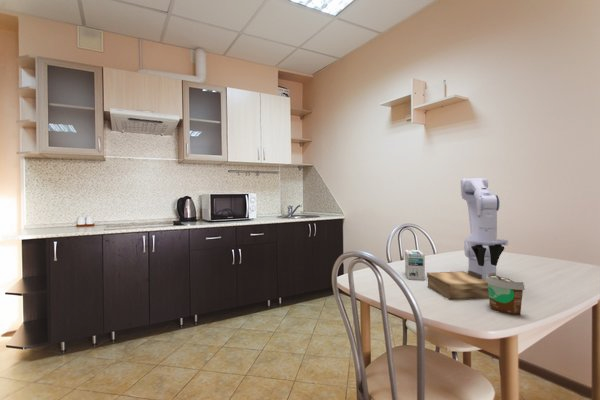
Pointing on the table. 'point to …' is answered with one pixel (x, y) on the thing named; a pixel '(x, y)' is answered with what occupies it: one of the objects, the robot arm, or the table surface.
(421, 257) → the light bulb box
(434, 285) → the mailer box
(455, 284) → the mailer lid
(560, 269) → the table surface
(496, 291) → the food container
